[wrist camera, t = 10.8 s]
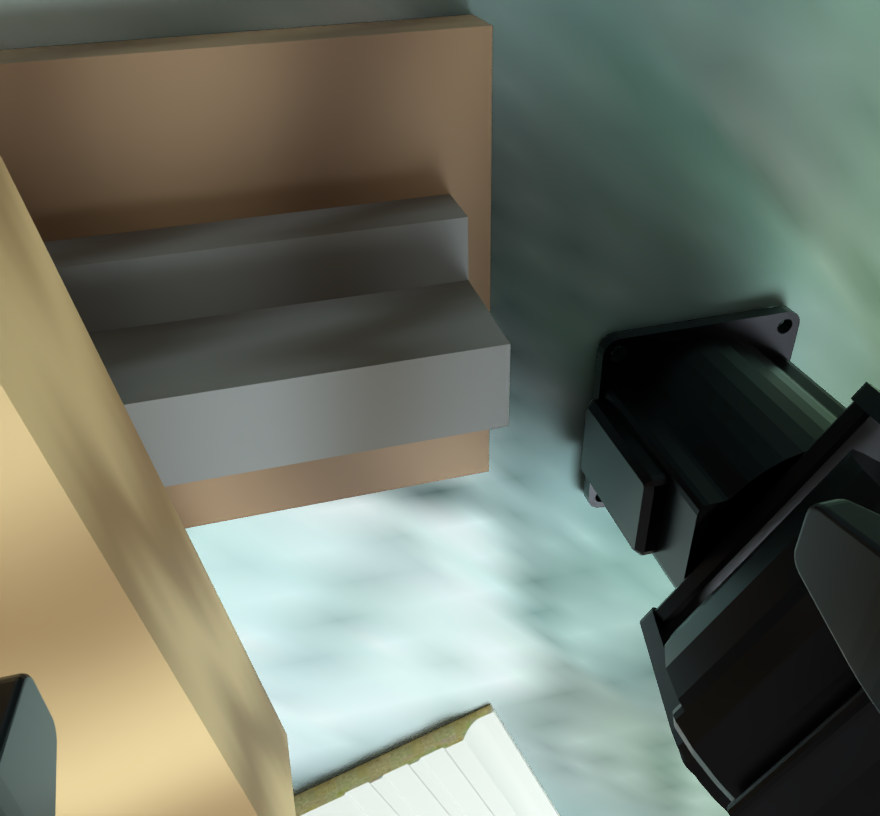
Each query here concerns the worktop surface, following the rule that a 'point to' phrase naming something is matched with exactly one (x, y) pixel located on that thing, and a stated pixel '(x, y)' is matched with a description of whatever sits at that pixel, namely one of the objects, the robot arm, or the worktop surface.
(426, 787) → the baseboard molding
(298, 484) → the ridge stand
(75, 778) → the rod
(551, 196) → the worktop surface
